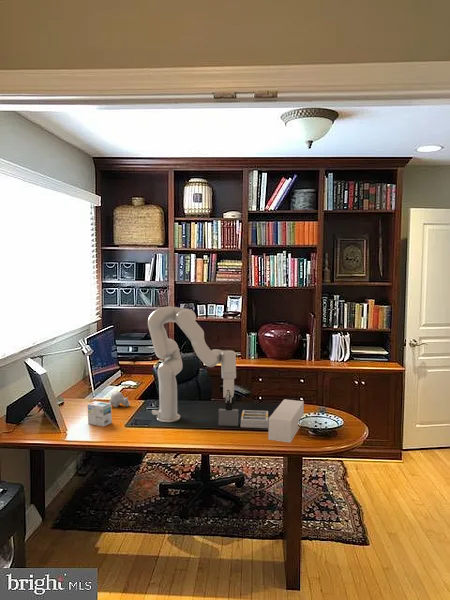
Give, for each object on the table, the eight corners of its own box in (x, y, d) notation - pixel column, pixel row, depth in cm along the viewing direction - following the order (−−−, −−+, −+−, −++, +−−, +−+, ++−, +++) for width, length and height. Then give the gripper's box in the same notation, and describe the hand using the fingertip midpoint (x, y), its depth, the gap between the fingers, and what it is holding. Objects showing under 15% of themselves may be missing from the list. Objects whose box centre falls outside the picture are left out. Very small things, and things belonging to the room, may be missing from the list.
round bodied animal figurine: (125, 413, 270) (130, 399, 269) (106, 404, 271) (111, 391, 270) (129, 408, 278) (134, 396, 276) (110, 400, 278) (115, 387, 277)
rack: (240, 427, 240) (240, 419, 240) (242, 416, 256) (242, 409, 256) (267, 428, 239) (268, 420, 239) (268, 417, 255) (268, 410, 254)
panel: (218, 425, 243) (218, 410, 243) (219, 423, 246) (219, 408, 245) (237, 426, 242) (237, 410, 242) (238, 424, 245) (238, 409, 244)
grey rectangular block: (290, 443, 220) (290, 420, 219) (268, 440, 224) (268, 418, 223) (303, 421, 250) (303, 401, 249) (283, 418, 254) (284, 399, 253)
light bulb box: (112, 423, 247) (111, 402, 246) (103, 427, 241) (103, 406, 240) (96, 420, 251) (95, 400, 250) (87, 424, 245) (87, 403, 244)
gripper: (223, 370, 251) (224, 402, 252) (219, 379, 233) (220, 412, 235) (237, 370, 250) (238, 402, 251) (234, 378, 233) (235, 412, 234)
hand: (229, 407), depth 243 cm, fingers open, 9 cm apart
